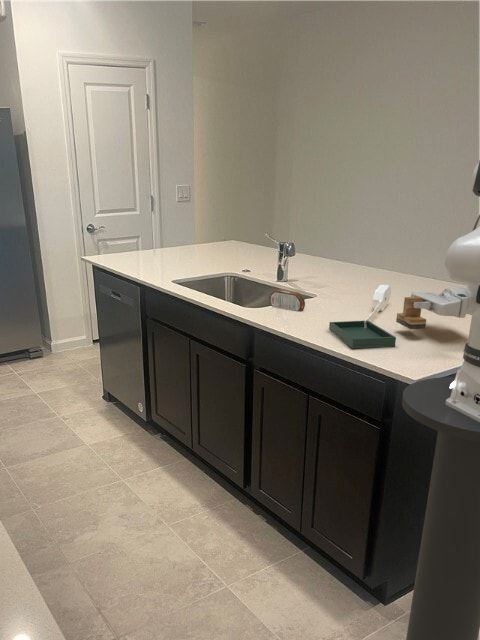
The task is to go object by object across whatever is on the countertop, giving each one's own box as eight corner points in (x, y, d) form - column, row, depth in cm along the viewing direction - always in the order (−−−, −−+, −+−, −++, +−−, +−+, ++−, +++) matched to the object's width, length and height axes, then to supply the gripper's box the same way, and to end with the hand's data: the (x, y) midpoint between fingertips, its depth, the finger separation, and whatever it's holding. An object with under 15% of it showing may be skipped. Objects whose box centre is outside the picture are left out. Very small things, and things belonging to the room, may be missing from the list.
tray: (395, 346, 168) (396, 337, 167) (352, 348, 167) (353, 339, 166) (367, 328, 189) (368, 320, 188) (328, 330, 187) (329, 322, 186)
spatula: (352, 335, 188) (364, 336, 186) (353, 313, 185) (365, 314, 183) (379, 301, 217) (389, 302, 215) (381, 281, 213) (391, 282, 211)
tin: (304, 314, 210) (306, 292, 207) (300, 316, 208) (301, 294, 205) (272, 308, 220) (273, 287, 217) (268, 309, 218) (268, 289, 214)
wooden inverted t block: (425, 328, 172) (429, 300, 169) (410, 329, 172) (413, 301, 169) (410, 321, 182) (413, 294, 179) (395, 321, 181) (398, 294, 178)
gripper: (436, 286, 184) (396, 288, 183) (471, 298, 165) (427, 300, 164) (433, 305, 186) (394, 306, 185) (467, 319, 167) (424, 320, 166)
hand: (410, 303), depth 174 cm, fingers closed on wooden inverted t block, 2 cm apart
